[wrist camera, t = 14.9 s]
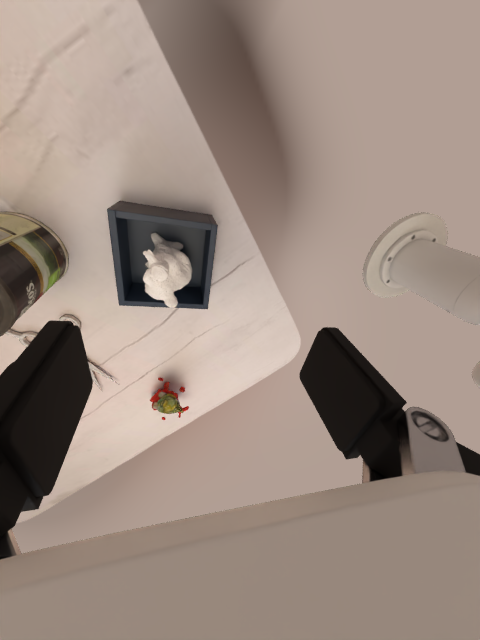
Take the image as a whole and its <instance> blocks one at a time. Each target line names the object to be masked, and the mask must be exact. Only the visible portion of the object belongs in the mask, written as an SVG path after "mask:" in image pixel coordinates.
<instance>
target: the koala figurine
mask: <svg viewBox="0 0 480 640" xmlns="http://www.w3.org/2000/svg"><path fill="white" fill-rule="evenodd" d="M151 238H152V241H153V242H154V244H155V249H154V251H153V252H152V251H151V250H149V249H148V251H144V252H143V255H145V257H146V258H147V260H148V262H147V263H146V264H145V265H146V266H147V267H148V268H149V269H147V270H146V272H145V274H144V276H143V281H144V282H145V292H146V293H148V294H149V296H151V297H152V298H154V299H156V300H163V301H164V303H165V304H166V305H167V306H168V307H171V308H174V307H176V306H177V304H178V302H177V298H176V297H175V295H174V291H176V290H178V289H179V290H180V289H182V288H183V287H184V286H185V285H187V284H188V283H189V281H190V279H191V274H192V267H191V263H190V260H189V258H188V257H187V256H186V255H185V254H184V253H183V252H181V251H180V250H181V249H182V248H183V245H182V244H181V243H179V242H170V241H166V240H165V239H163V238H162V237H161V236H160V235H158V234H157V233H152V234H151Z"/></svg>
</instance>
